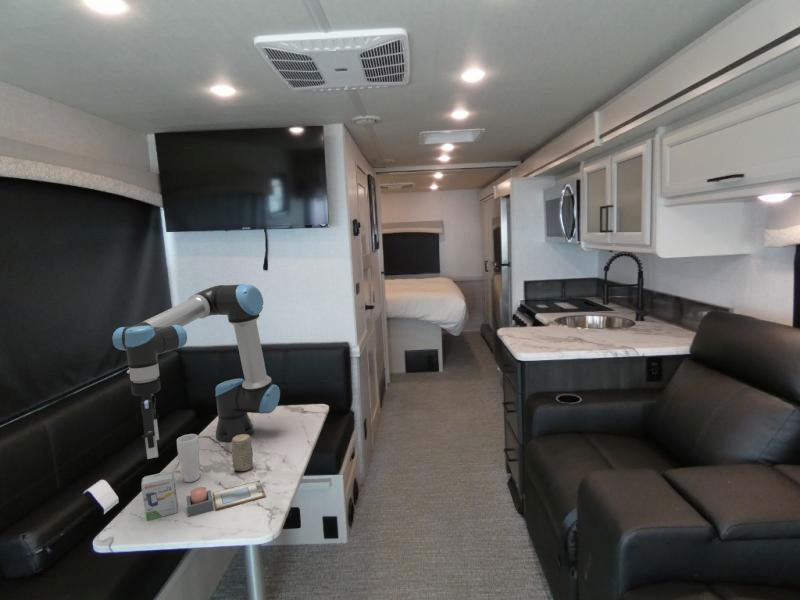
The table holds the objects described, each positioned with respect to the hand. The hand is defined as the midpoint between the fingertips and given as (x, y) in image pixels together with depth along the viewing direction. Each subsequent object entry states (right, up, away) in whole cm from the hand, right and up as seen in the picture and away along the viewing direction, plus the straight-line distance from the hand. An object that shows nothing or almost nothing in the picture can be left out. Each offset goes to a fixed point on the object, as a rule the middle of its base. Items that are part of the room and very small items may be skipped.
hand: (153, 448), depth 139 cm
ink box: (+1, -21, +3) cm, 21 cm away
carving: (+17, -16, +28) cm, 37 cm away
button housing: (+12, -20, +5) cm, 23 cm away
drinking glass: (+1, -18, +23) cm, 29 cm away
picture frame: (+22, -18, +11) cm, 30 cm away
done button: (+12, -18, +5) cm, 22 cm away
